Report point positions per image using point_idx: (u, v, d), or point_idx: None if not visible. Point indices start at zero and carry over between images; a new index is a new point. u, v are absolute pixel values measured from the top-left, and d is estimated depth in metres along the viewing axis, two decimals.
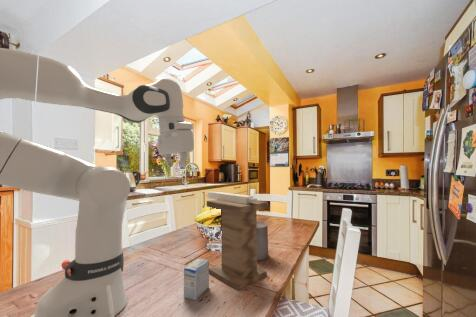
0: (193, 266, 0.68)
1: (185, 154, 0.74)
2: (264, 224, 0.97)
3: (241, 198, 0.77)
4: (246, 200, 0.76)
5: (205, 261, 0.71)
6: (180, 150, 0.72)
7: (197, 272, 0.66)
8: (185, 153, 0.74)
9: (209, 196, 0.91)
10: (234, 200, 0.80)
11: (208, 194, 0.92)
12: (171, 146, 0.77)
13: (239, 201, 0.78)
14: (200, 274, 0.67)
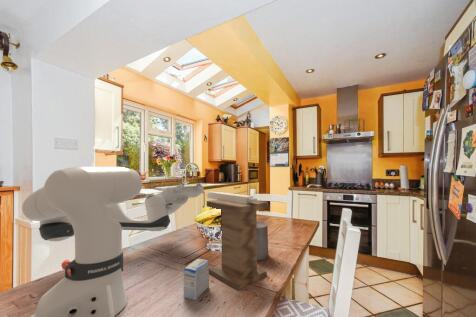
0: (193, 266, 0.68)
1: (174, 188, 1.03)
2: (264, 224, 0.97)
3: (241, 198, 0.77)
4: (246, 200, 0.76)
5: (205, 261, 0.71)
6: (172, 194, 1.02)
7: (197, 272, 0.66)
8: (174, 188, 1.03)
9: (209, 196, 0.91)
10: (234, 200, 0.80)
11: (208, 194, 0.92)
12: (183, 194, 1.07)
13: (239, 201, 0.78)
14: (200, 274, 0.67)
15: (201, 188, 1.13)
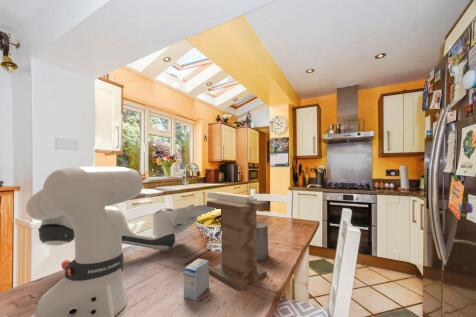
0: (193, 266, 0.68)
1: (184, 209, 0.97)
2: (264, 224, 0.97)
3: (241, 198, 0.77)
4: (246, 200, 0.76)
5: (205, 261, 0.71)
6: (182, 215, 0.96)
7: (197, 272, 0.66)
8: (184, 209, 0.97)
9: (209, 196, 0.91)
10: (234, 200, 0.80)
11: (208, 194, 0.92)
12: (193, 214, 1.01)
13: (239, 201, 0.78)
14: (200, 274, 0.67)
15: None
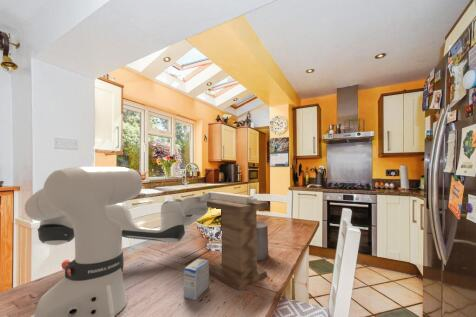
0: (193, 266, 0.68)
1: (200, 198, 0.91)
2: (264, 224, 0.97)
3: (241, 198, 0.77)
4: (246, 200, 0.76)
5: (205, 261, 0.71)
6: (193, 205, 0.89)
7: (197, 272, 0.66)
8: (200, 198, 0.92)
9: None
10: (234, 200, 0.80)
11: None
12: (204, 205, 0.94)
13: (239, 201, 0.78)
14: (200, 274, 0.67)
15: None
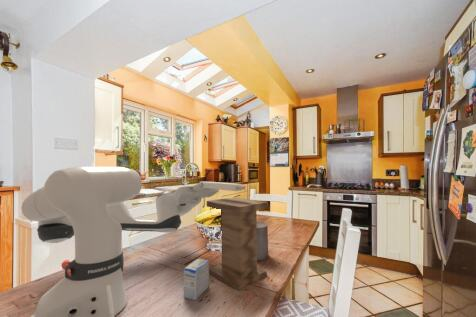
0: (193, 266, 0.68)
1: (193, 187, 0.96)
2: (264, 224, 0.97)
3: (230, 186, 0.82)
4: (235, 187, 0.81)
5: (205, 261, 0.71)
6: (186, 194, 0.94)
7: (197, 272, 0.66)
8: (192, 187, 0.96)
9: None
10: (224, 188, 0.85)
11: None
12: (197, 194, 0.99)
13: (229, 188, 0.83)
14: (200, 274, 0.67)
15: None
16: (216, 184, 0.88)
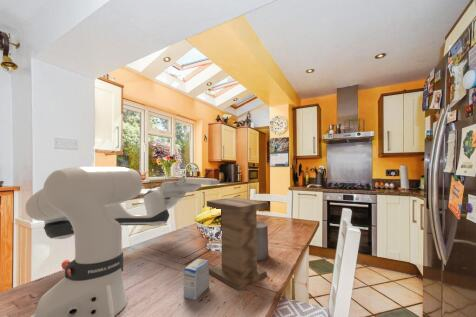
0: (193, 266, 0.68)
1: (176, 182, 1.07)
2: (264, 224, 0.97)
3: (207, 180, 0.93)
4: (210, 182, 0.92)
5: (205, 261, 0.71)
6: (170, 188, 1.05)
7: (197, 272, 0.66)
8: (176, 182, 1.07)
9: None
10: (202, 182, 0.96)
11: None
12: (180, 189, 1.10)
13: (205, 183, 0.94)
14: (200, 274, 0.67)
15: None
16: (196, 179, 0.99)
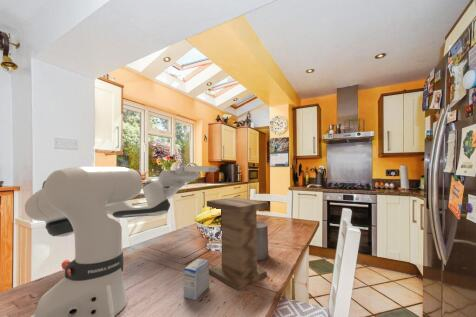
0: (193, 266, 0.68)
1: (175, 171, 1.08)
2: (264, 224, 0.97)
3: (205, 167, 0.94)
4: (209, 168, 0.92)
5: (205, 261, 0.71)
6: (169, 176, 1.05)
7: (197, 272, 0.66)
8: (175, 171, 1.08)
9: None
10: (200, 170, 0.96)
11: None
12: (179, 178, 1.11)
13: (204, 170, 0.94)
14: (200, 274, 0.67)
15: (197, 172, 1.16)
16: (194, 167, 1.00)
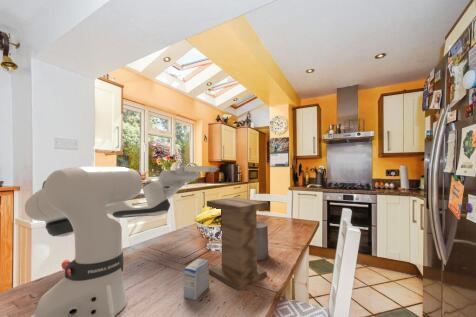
0: (193, 266, 0.68)
1: (175, 171, 1.08)
2: (264, 224, 0.97)
3: (205, 167, 0.94)
4: (209, 168, 0.92)
5: (205, 261, 0.71)
6: (169, 176, 1.05)
7: (197, 272, 0.66)
8: (175, 171, 1.08)
9: None
10: (200, 170, 0.96)
11: None
12: (179, 178, 1.11)
13: (204, 170, 0.94)
14: (200, 274, 0.67)
15: (197, 172, 1.16)
16: (194, 167, 1.00)
